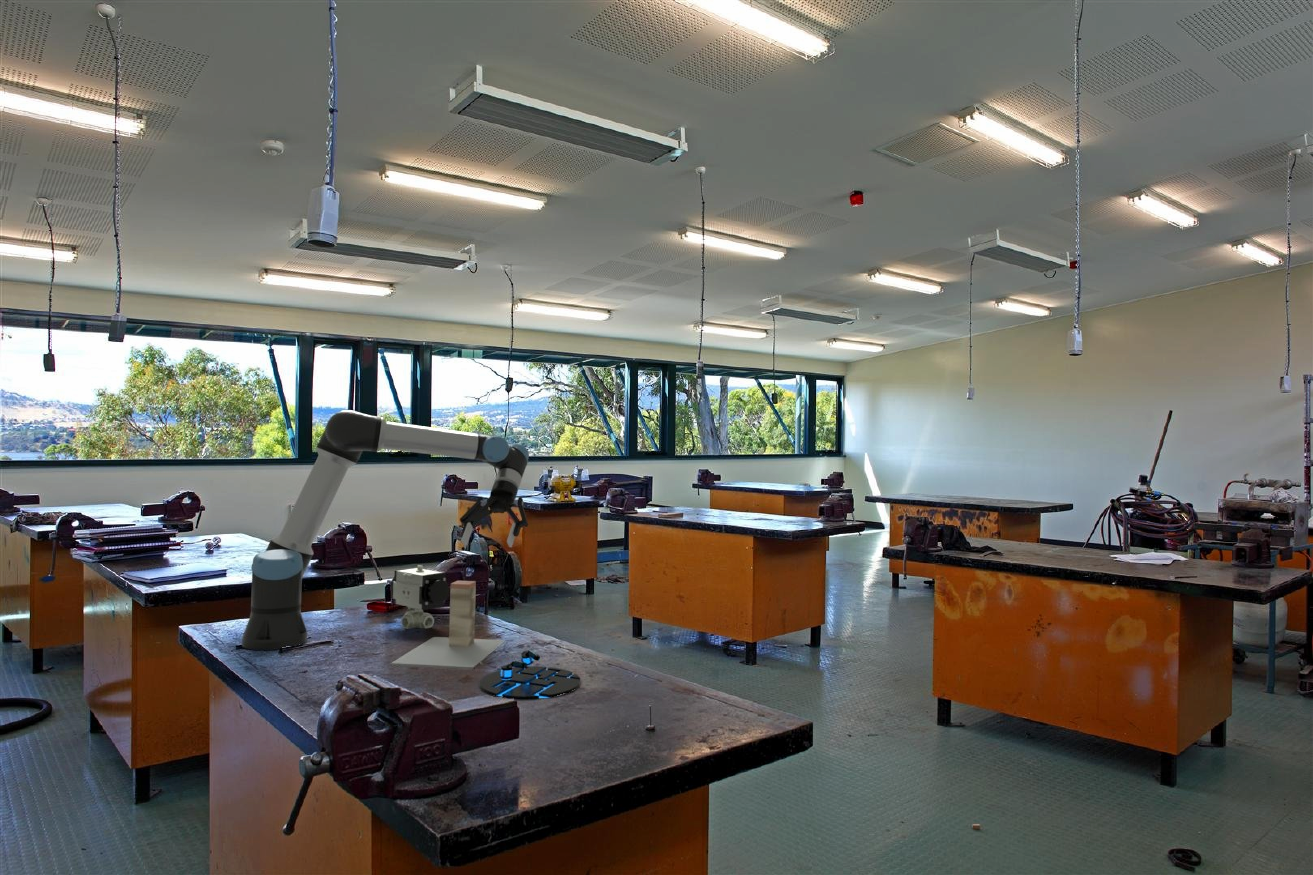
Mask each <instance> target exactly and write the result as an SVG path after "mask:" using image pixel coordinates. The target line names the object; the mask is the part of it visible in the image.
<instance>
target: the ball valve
mask: <svg viewBox="0 0 1313 875" xmlns="http://www.w3.org/2000/svg"><path fill="white" fill-rule="evenodd" d="M446 580H447V578H446V572H442V571H436V570H431V569H425V568H424V566H423V565H421V564H420V565H419V564H418V565H417V567H411V568H404V569H402V568H401V569H396V570H394V576H393V578H391V581H390V586H389V587H390V598H391V599H393V604H395V605H399V606H402V607H403V606H405V607H407V610H409V611H406V612H405V613H404V615H402V617H401V621H400V623H401V624H400V625H401V627H402V628H403V629H406V630H408V629H409V630H410V629H416V628H418V629H425V630H426V629H430V628H432V627H433V625H434V623H435V619H434V617H433V615H432V614H431V613H428V612H426V610H432V609H437V608H442V607H445V606H446V602H445V601H446V600H447V599H448V597H449V595H450V586H449V584H448V582H447V581H446ZM411 609H412V610H411Z"/></svg>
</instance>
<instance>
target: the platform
mask: <svg viewBox="0 0 1313 875" xmlns="http://www.w3.org/2000/svg"><path fill="white" fill-rule="evenodd" d="M520 655H521V658H520V660H521V661H518V660H513V661H511V662H508V663H507V664H506V665H505V664H504V665H502V666H500V669H499V670H496V671H492V672H490V673H487V674H486V675H484V676H483V677H481V679H480V681H479V689H480V690H481V691H482V692H484V693H486V694H487V695H489V696H493V695H495V696H494V697H496V696H503V697H506V698H505V699H508V698H514V699H513V700H522V701H523V700H524V701H525V700H540V699H539V698H545V699H549V697H551V698H555V697H554V696H557V695H560V694H563V693H567V694H570V693H572V692H573V691H572V690H574V689H576V688H577V687H578V686H579V685H580V686H581V684H582V683H581V682H582V681H581V677H580V676H579V675H578V674H576V673H574V674H573V671H570V670H568V669H563V668H559V667H552V666H551V667H550V666H549V667H547V666H537V665H536V666H531V665H532V664H533V663H534V661H539V660H540V659H541V656H540V655H539V654H538V653H537V652H535V651H534V650H531V649H527V650H523V651H522V652H521V653H520ZM556 672H558V673H556ZM569 676H570V678H567V677H569ZM551 685H552V686H551ZM580 686H579V687H580ZM579 687H578V688H579ZM578 688H577V689H578ZM543 689H545V690H543ZM577 689H576V690H577ZM541 690H542V691H541ZM571 691H572V692H571ZM574 691H575V690H574ZM569 692H570V693H569ZM536 693H539V694H536ZM557 697H558V696H557Z"/></svg>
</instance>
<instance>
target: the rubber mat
mask: <svg viewBox="0 0 1313 875" xmlns="http://www.w3.org/2000/svg"><path fill="white" fill-rule="evenodd" d="M505 642H506V640H505V639H487V638H485V639H484V638H474V643H473V644H471V645H470V646H468V647H457V646H449V637H445V636H443V637H442V636H433V637H431V638H430V639H428V640H426V641H425V642H423V643H421V644H420V645H418V646H416V647H415V648H413V649H411V650H409V651H408V652H407V653H405V654H404V655H402V656H400V657H398V658H397V659H395V660H394V661H392V662H391V663H390V666H392V667H407V668H408V667H410V668H428V669H429V668H430V669H450V670H451V669H452V670H468V671H469V670H472V671H473V670H474V671H475V669H476V666H477V665H478V664H479V663H481V662H482V661H483V660H485V659H486V658H487V657H488V656H489V655H490V654H491V653H493V652H494V651H495V650H496V649H497V648H499V647H501V645H502V644H503V643H505Z"/></svg>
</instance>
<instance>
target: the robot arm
mask: <svg viewBox="0 0 1313 875" xmlns="http://www.w3.org/2000/svg"><path fill="white" fill-rule="evenodd" d="M315 450H316V452H317V454H318V456H317V458H316V461H315V462H314V464H313V466H312V469H311V470H310V471H309V475H308V476H307V479H306V480H305V483H304V484H303V487H302V489H301V491H300V493H299V494H298V497H297V499H296V501H295V503H294V505H293V508H292V509H291V510H290V513H289V516H288V517H287V520H286V522H285V523H284V525H283V528H282V530H281V532H280V534H278V535H276V536H274V537H272V538H271V539H270V541H269V543H268V545H267V547H266V548H265V551H261V552H259V553H257V554H256V555H254V556H253V558H252V564H251V573H252V574H251V596H250V598H251V599H250V600H251V601H250V602H251V603H250V614H249V619H248V621H247V624H246V626H245V628H244V632H243V634H242V638H241V647H242V648H243V649H245V650H246V649H247V650H253V651H272V650H274V651H275V650H281V649H280V648H282V647H286V646H294V647H296V646H295V645H298V646H300V645H299V644H301V645H303V644H305V643H307V642H308V630H307V627H306V625H305V621H304V617H303V615H302V610H301V609H302V586H303V584H302V583H303V581H302V580H303V577H304V574H305V573H306V571H307V568H308V566H309V564H310V562H311V560H312V558H313V555H314V549H313V547H312V544H313V543H314V541H315V538H316V536H317V534H318V533H319V530H320V528H321V526H322V524H323V522H324V519H325V517H326V515H327V513H328V511H329V509H330V508H331V505H332V503H333V501H334V499H335V497H336V494H337V492H338V490H339V488H340V486H341V483H342V482H343V481H344V478H345V476H346V473H347V472H348V470H349V468H351V467H353V466H355V465H357V463H358V461H359V460H360V458H361V455H362V454H363V452H374V453H378V452H380V451H382V450H388V451H389V450H391V451H392V450H393V451H399V452H400V451H402V452H408V453H415V454H416V453H418V454H426V455H435V456H442V457H443V456H444V457H452V458H460V459H467V460H468V459H469V460H476V461H482V462H484V463H486V464H487V465H490V466H492V467H493V468H495V469H497V470H498V471H497V474H496V476H495V479H494V483H493V485H492V487H491V490H490V494H489V497H488V498H486V499H485V498H483V496H479V497H478V498H477V499H476V502H475V503H474V504H473V505H472V506H471V507H470V508H469V509H468V510H467V511H465V513H464V514H463V515H462V516H461V517H460V518H459V521H460V523H461V525H462V530H461V534H462V537H461V540H460V542H461V543H462V546H463V547H467V546H468V543H469V540H470V538H471V535H472V532H473V529H474V527H473V526H474V525H476V524H477V523H478V522H480V521H481V520H482V519H484V518H485V517H487V516H490V515H492V514H504V513H506V514H508V516H509V517H510V519H511V520H512V524H511V527H510V529H509V534H508V537H507V539H506V543H507V545H508V548H513V545H514V541H515V538H516V537H519V535H520V531H521V529H522V528H523V527H525V528H527V527H529V523H528V519H527V516H526V513H525V509H524V507H525V502H524V499H523V497H521V496H519V497H518V498H517V496H518V491H519V488H520V486H521V483H522V478H523V476H524V474H525V471H526V468H527V466H528V463H529V462H528V461H529V457H530V453H529V450H528V449H527V447H525V446H524V445H522V444H518V443H510V444H509V442H508V441H507V439H505V437H502V436H501V435H497V434H493V435H490V434H485V433H484V432H481V431H479V430H473V432H469V431H463V430H455V429H445V428H438V427H431V426H424V425H423V426H422V425H417V424H409V423H400V422H393V421H392V422H391V421H386V419H384V417H382V416H376V415H371V414H366V413H362V412H359V411H357V410H354V409H353V410H351V409H345V410H341V411H338V412H336V413H335V414H333V415H332V416H331V417H330V418H329V419H328V421H327V423H326V425H325V428H324V430H323V433H322V434H321V437H320V439H319V441H318V442H317V445H316V447H315ZM514 506H516V507H517V509H518V511H519V514H520V515H519V516H520V518H521V520H520V519H519V518H518V516H517V515H516V514H515V512H514V511H513V509H512V508H513V507H514ZM304 642H305V643H304ZM302 643H303V644H302Z"/></svg>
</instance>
